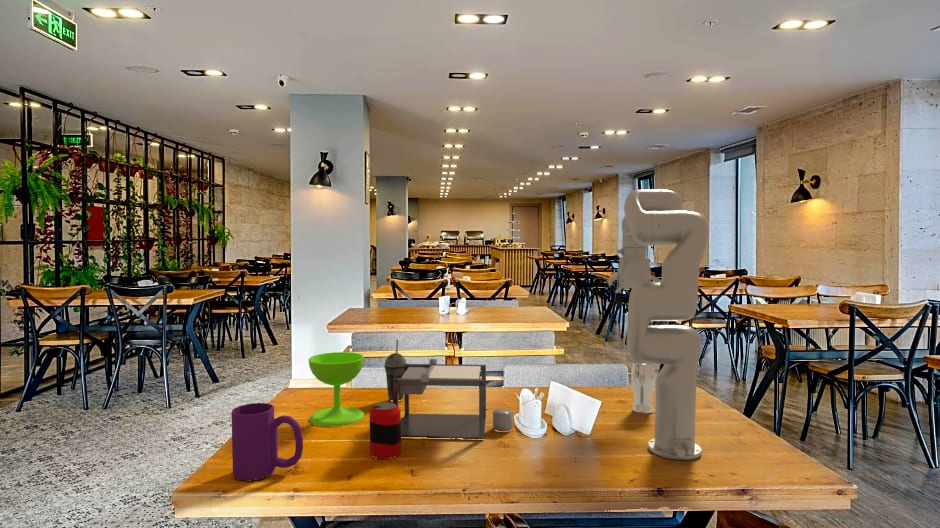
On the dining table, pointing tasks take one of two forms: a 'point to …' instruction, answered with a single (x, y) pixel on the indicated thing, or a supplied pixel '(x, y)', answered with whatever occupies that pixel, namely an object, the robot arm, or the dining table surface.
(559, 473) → the dining table surface
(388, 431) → the soda can
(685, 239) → the robot arm
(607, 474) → the dining table surface
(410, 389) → the trapdoor
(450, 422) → the frame
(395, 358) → the beverage cup
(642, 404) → the beer glass
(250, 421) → the mug
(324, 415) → the wineglass
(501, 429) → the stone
